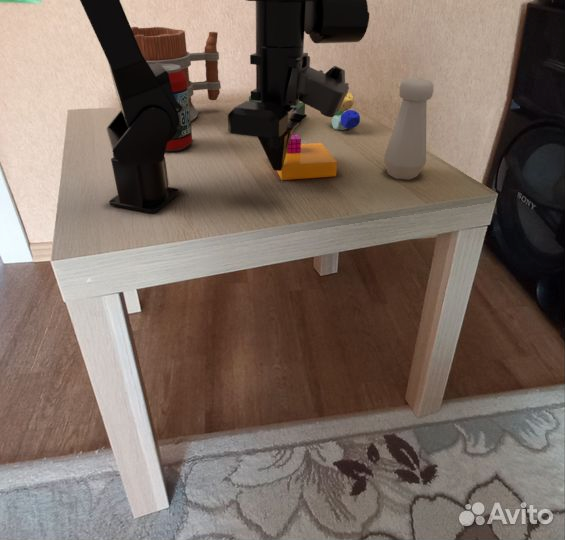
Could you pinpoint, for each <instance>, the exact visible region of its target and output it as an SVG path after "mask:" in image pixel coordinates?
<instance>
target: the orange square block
mask: <svg viewBox="0 0 565 540" xmlns="http://www.w3.org/2000/svg"><path fill="white" fill-rule="evenodd" d="M337 169H338V161H337V160H336V158H335V157H334V156H333V155H332V153H331V152H330V151H329V150H328V149H327V147H326V146H325V145H324V144H323V143H322V142H318V143H316V142H314V143H302V138H301V137H300V135H299V134H292V136H291V139H290V143H289V146H288V150H287V153H286V157H285V160H284V164H283V167H282V170H281V171H276V173H277V174H278V176H279V178H280V180H281V181H290V180H302V179H303V180H305V179H315V178H328V177H331V178H332V177H336V176H337Z"/></svg>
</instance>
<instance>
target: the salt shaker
mask: <svg viewBox="0 0 565 540" xmlns="http://www.w3.org/2000/svg"><path fill="white" fill-rule="evenodd" d="M398 94H399V95H398V96H399V98H401V99H402V101H401V104H400V107H399V111H398V113H397V117H396V120H395V123H394V125H393V129H392V131H391V135H390V138H389V141H388V144H387V147H386V150H385V153H384V157H383V158H384V159H383V160H384V165H385V168H386V173H387V175H389V176H391V177H392V178H394V179H395V180H396V179H397V180H407V181H409V180H412V179H414V178H417V177H418V175H420V173H421V171H422V170H423V168H424V167H425V165H426V163H427V107H428V106H427V103H428V102H427V101H429V100H431V99H432V97H433V94H434V83H433V82H432V81H431V80H430V79H427V78H424V77H415V76H413V77H406V78H404V79H403V80H402V81H401V82H400V86H399V93H398Z"/></svg>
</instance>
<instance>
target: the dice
mask: <svg viewBox="0 0 565 540" xmlns="http://www.w3.org/2000/svg"><path fill="white" fill-rule="evenodd" d="M353 106H354V97H353V93H351V92H349V91H348V93H347V95H346V96H345V98H344V100H343V103H342V105H341V107H340V109H339V111H338V112H337V113H336V114H335V115H334V117H331V118H332V119H331V126H332V128H333V129H334V130H338V131H345V130H347V129H354V128H357V126H359V124H360V122H361V115H360V113H359V112H358V111H356V110H353V109H352V108H353Z"/></svg>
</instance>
